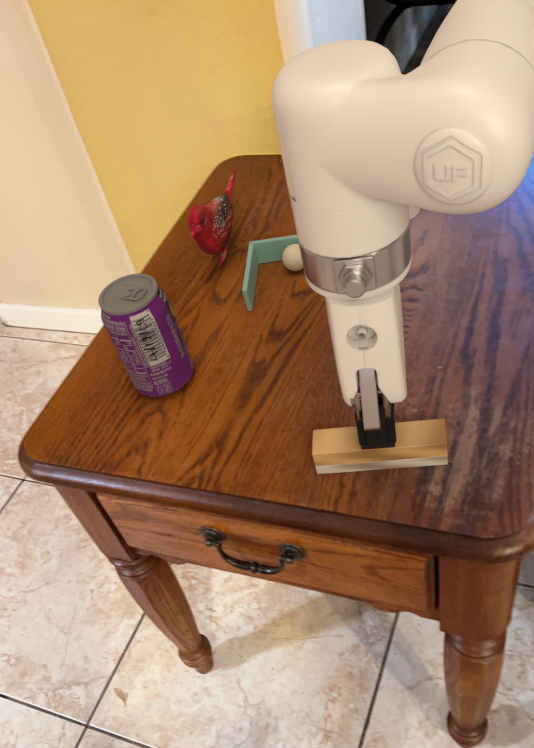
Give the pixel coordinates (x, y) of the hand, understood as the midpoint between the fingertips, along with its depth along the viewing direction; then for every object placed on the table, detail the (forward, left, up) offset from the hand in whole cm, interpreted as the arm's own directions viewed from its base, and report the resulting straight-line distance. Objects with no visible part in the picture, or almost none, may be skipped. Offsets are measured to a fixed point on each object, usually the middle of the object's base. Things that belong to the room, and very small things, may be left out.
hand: (377, 424), depth 62 cm
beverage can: (+24, -14, -5) cm, 28 cm away
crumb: (+9, -31, -3) cm, 33 cm away
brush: (0, 0, -5) cm, 5 cm away
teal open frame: (+6, -32, -5) cm, 33 cm away
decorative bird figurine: (+19, -38, -5) cm, 42 cm away
